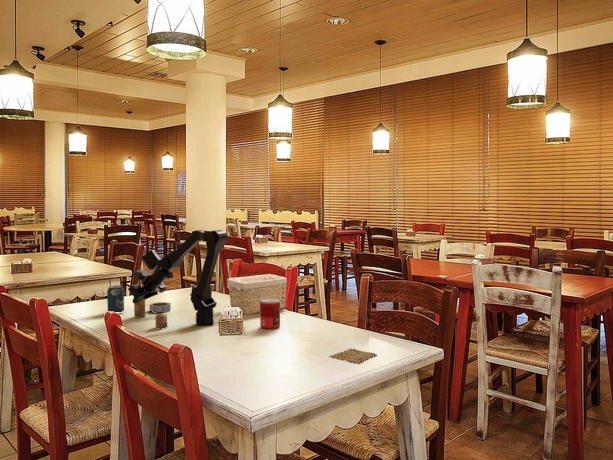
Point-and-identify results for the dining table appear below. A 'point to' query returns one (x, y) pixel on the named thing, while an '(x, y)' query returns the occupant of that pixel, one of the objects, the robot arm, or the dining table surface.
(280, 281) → the storage basket
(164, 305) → the steel ring socket
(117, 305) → the soda can
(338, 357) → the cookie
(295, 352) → the dining table surface
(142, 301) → the tall walnut peg
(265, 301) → the canned food
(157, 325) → the short walnut peg
